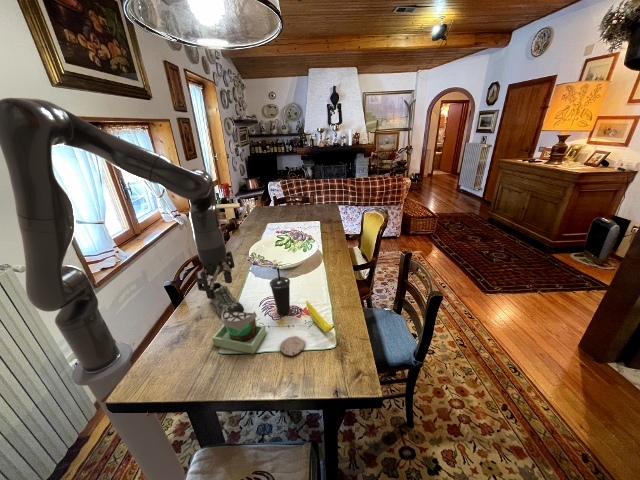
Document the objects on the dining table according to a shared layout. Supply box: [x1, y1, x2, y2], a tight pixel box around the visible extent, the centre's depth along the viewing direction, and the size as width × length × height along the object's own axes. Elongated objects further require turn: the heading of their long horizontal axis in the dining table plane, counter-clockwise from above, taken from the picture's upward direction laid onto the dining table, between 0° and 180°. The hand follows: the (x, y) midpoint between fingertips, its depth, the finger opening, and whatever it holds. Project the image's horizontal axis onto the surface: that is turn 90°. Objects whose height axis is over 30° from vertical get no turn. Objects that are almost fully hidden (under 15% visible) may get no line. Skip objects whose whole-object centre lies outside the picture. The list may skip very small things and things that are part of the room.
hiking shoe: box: [210, 281, 245, 318], centre depth 102 cm, size 8×21×9 cm, turn 47°
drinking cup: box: [269, 266, 291, 316], centre depth 96 cm, size 8×8×20 cm
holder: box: [211, 323, 267, 355], centre depth 87 cm, size 15×9×4 cm, turn 75°
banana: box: [305, 300, 336, 332], centre depth 92 cm, size 3×19×6 cm, turn 32°
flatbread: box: [279, 335, 305, 357], centre depth 84 cm, size 8×8×1 cm
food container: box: [220, 309, 258, 342], centre depth 86 cm, size 12×6×10 cm, turn 81°
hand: (221, 290), depth 78 cm, fingers open, 8 cm apart
